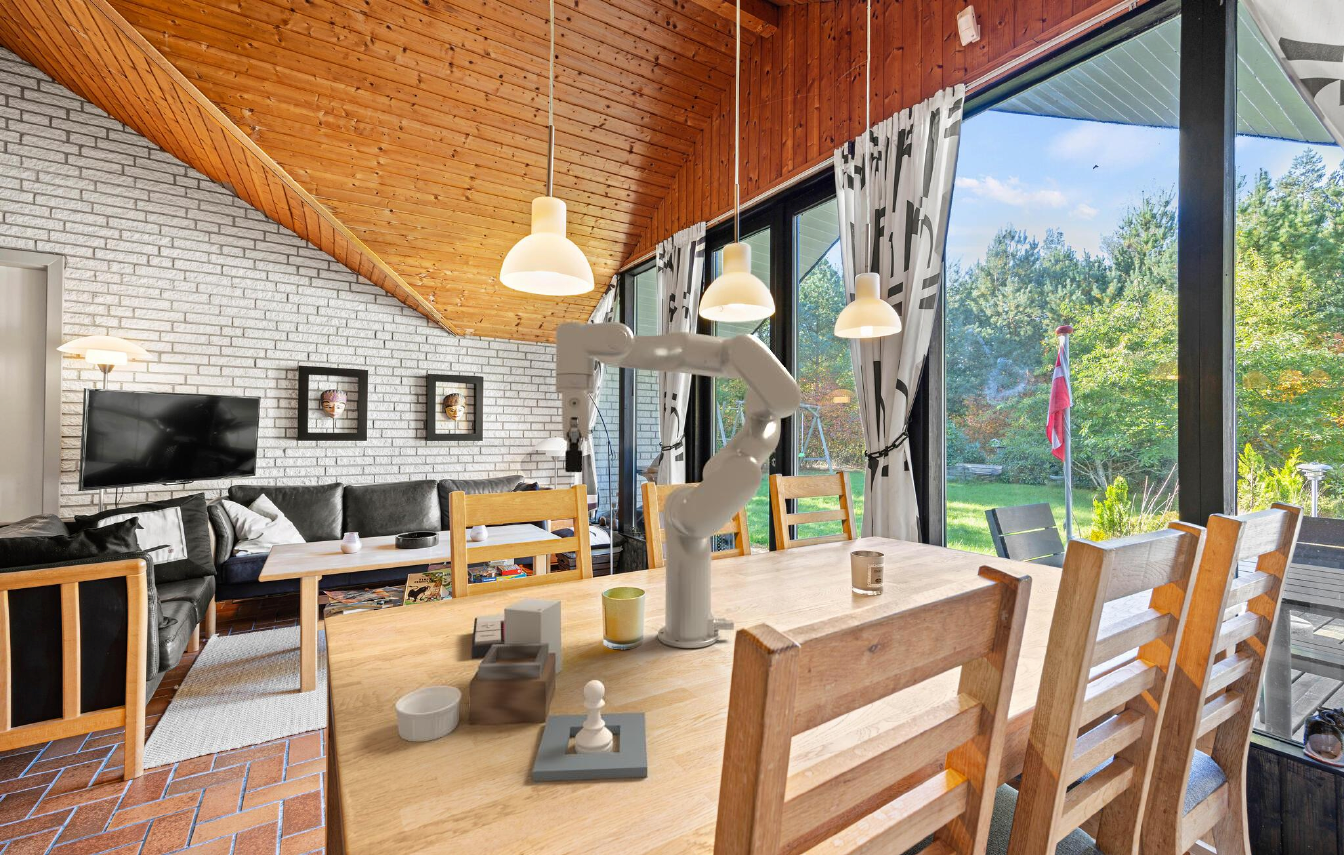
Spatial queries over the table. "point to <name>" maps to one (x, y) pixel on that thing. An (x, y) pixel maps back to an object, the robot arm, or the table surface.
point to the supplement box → (535, 624)
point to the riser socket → (513, 685)
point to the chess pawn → (593, 723)
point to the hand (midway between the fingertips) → (573, 470)
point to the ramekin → (428, 713)
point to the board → (596, 765)
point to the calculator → (487, 634)
